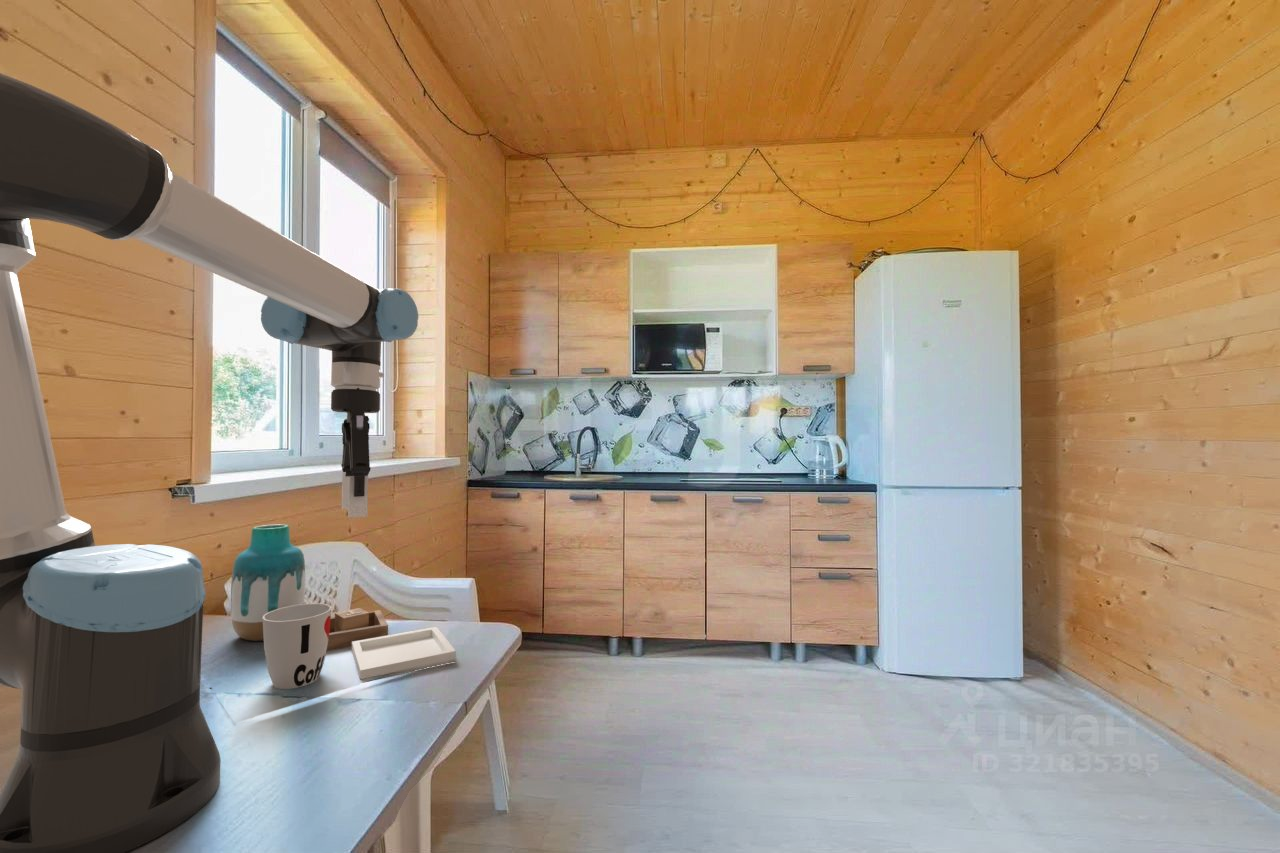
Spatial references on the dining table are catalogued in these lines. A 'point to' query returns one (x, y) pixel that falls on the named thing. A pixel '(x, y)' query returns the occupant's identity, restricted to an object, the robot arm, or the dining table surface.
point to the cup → (296, 643)
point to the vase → (265, 579)
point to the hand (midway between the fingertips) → (353, 512)
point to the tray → (401, 653)
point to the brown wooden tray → (357, 632)
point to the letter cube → (351, 619)
